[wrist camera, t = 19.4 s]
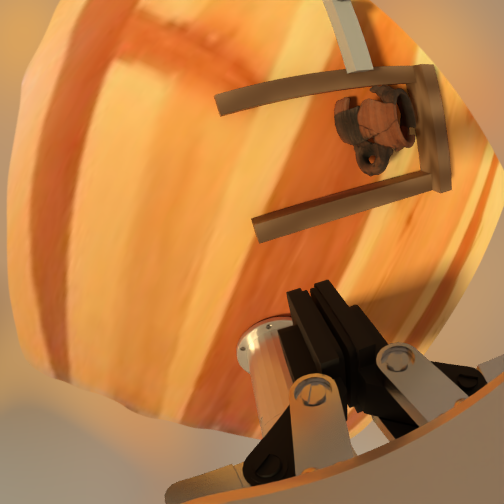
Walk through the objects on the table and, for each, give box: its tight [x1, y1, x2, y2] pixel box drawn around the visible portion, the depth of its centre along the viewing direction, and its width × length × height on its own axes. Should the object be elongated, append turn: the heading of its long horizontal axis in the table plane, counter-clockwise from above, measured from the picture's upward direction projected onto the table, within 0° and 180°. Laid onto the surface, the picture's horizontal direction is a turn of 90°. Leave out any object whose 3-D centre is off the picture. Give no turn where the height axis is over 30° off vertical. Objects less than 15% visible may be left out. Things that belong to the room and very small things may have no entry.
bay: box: [214, 64, 452, 244], centre depth 31 cm, size 18×28×4 cm, turn 106°
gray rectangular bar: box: [323, 0, 373, 73], centre depth 23 cm, size 11×2×4 cm, turn 16°
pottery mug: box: [334, 84, 416, 176], centre depth 31 cm, size 12×10×8 cm
